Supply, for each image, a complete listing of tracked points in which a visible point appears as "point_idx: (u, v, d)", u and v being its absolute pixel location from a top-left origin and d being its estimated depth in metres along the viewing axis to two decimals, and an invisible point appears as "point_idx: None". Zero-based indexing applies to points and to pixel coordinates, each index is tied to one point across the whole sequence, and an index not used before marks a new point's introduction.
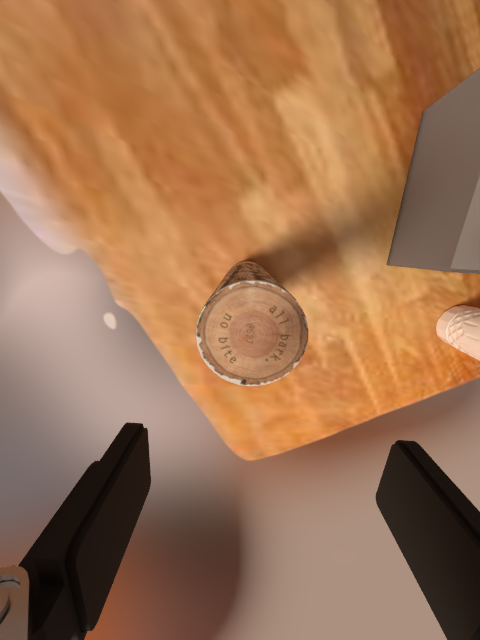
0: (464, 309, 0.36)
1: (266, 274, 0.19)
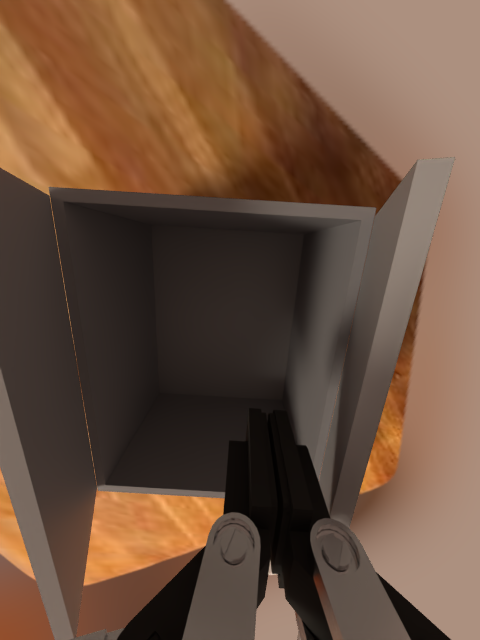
0: None
1: None
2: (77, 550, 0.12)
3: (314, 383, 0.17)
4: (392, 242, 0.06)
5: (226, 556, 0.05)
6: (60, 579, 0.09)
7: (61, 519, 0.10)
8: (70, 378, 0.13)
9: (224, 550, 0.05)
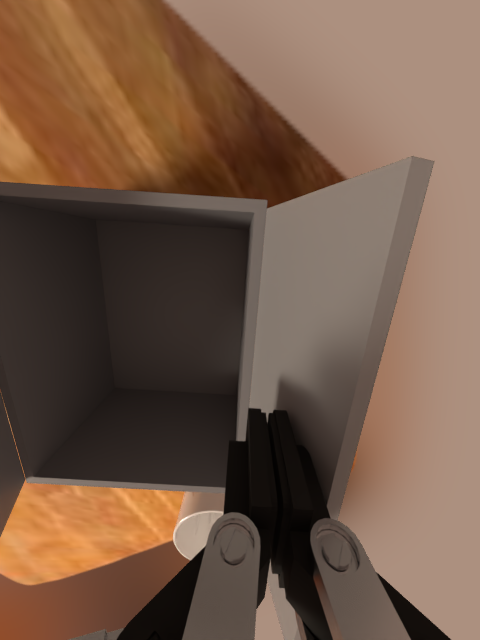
0: None
1: None
2: None
3: None
4: (368, 239, 0.06)
5: (226, 555, 0.05)
6: None
7: None
8: None
9: (224, 550, 0.05)
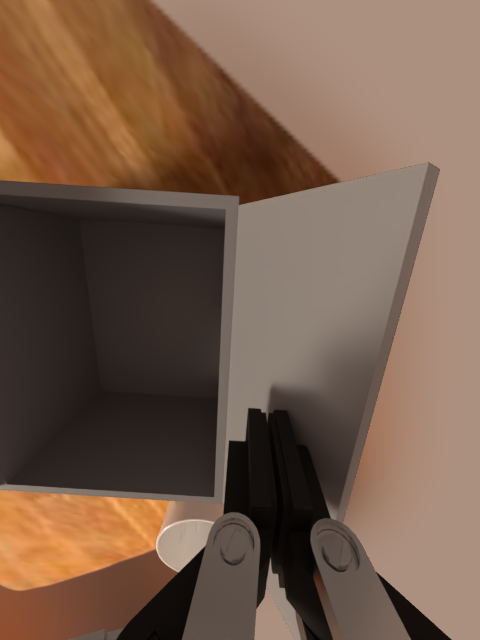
0: None
1: None
2: None
3: None
4: (379, 240, 0.06)
5: (225, 556, 0.05)
6: None
7: None
8: None
9: (224, 550, 0.05)
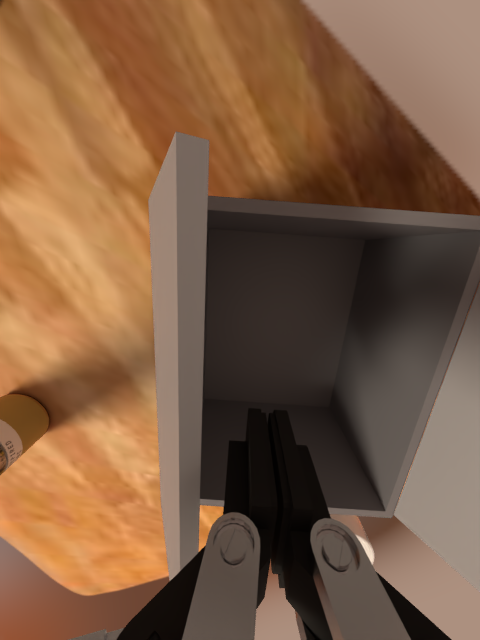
0: None
1: None
2: None
3: (395, 394, 0.16)
4: None
5: (225, 556, 0.05)
6: None
7: None
8: None
9: (224, 550, 0.05)
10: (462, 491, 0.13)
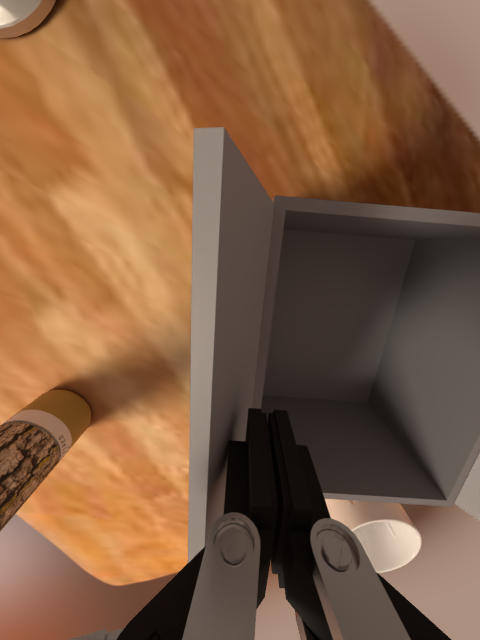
0: None
1: None
2: None
3: (458, 390, 0.17)
4: None
5: (225, 556, 0.05)
6: None
7: None
8: (249, 385, 0.12)
9: (224, 550, 0.05)
10: None
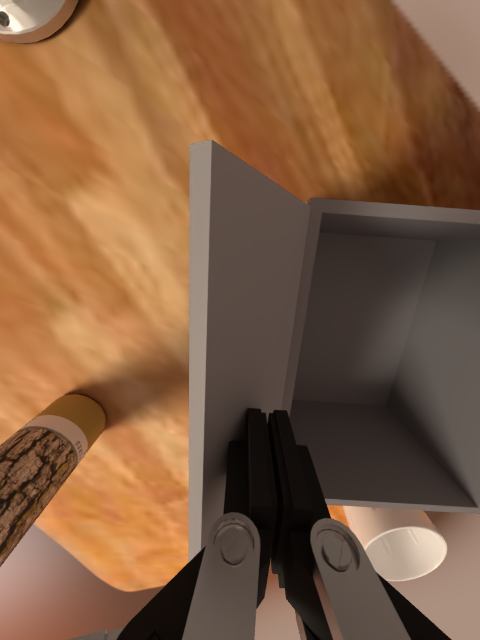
0: None
1: None
2: None
3: None
4: None
5: (225, 556, 0.05)
6: None
7: None
8: (274, 389, 0.12)
9: (224, 550, 0.05)
10: None
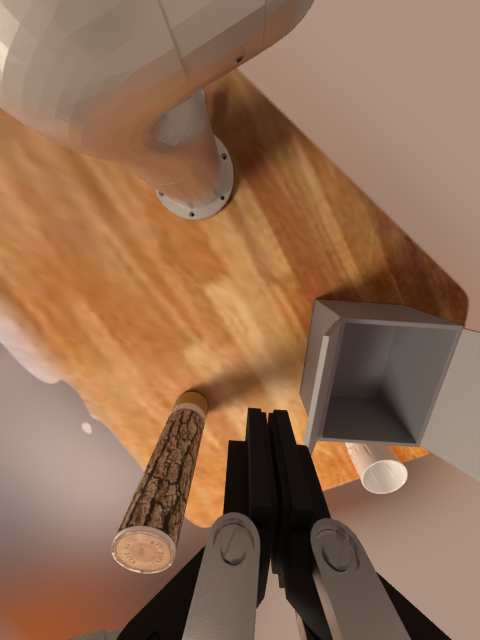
0: None
1: (170, 477, 0.30)
2: (310, 450, 0.31)
3: (420, 390, 0.36)
4: None
5: (225, 556, 0.05)
6: None
7: (312, 432, 0.29)
8: (326, 387, 0.32)
9: (224, 550, 0.05)
10: (450, 428, 0.33)
